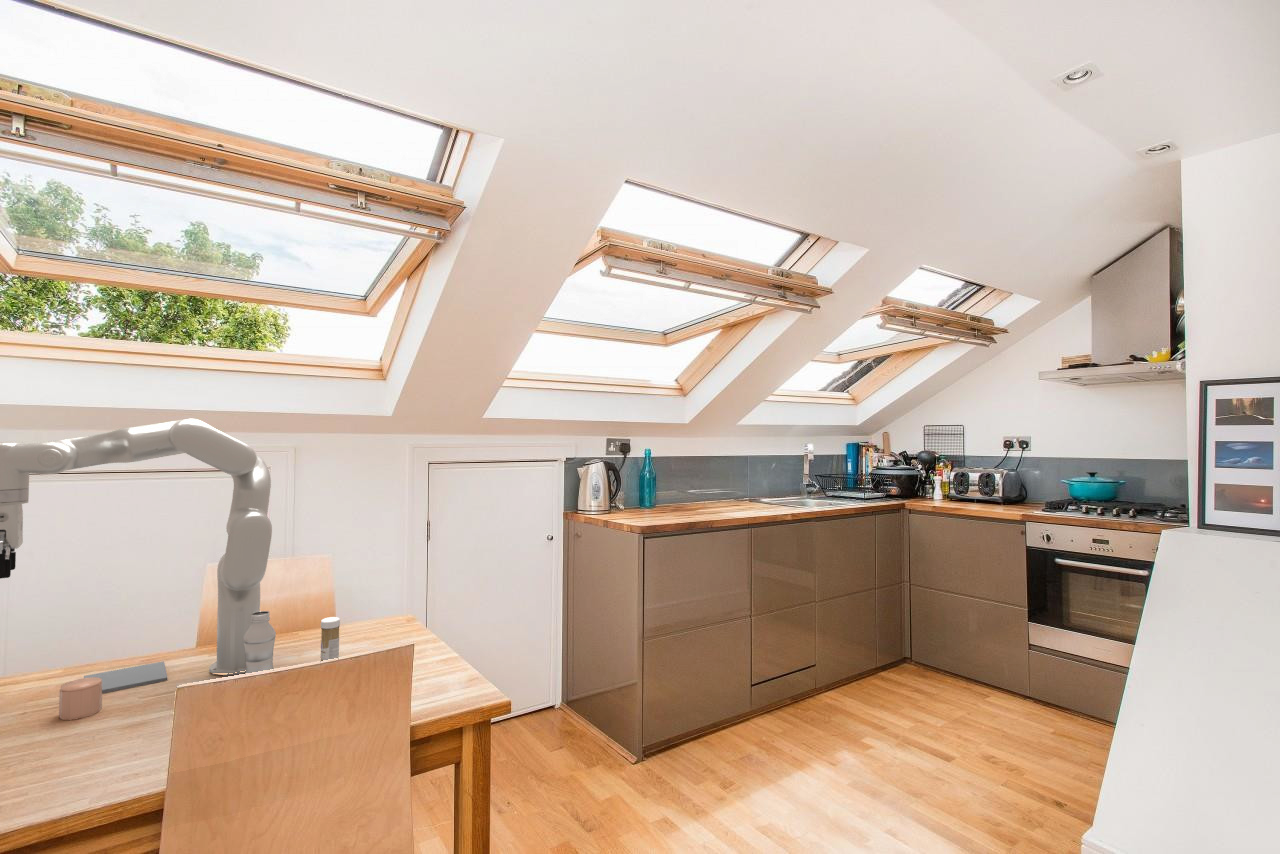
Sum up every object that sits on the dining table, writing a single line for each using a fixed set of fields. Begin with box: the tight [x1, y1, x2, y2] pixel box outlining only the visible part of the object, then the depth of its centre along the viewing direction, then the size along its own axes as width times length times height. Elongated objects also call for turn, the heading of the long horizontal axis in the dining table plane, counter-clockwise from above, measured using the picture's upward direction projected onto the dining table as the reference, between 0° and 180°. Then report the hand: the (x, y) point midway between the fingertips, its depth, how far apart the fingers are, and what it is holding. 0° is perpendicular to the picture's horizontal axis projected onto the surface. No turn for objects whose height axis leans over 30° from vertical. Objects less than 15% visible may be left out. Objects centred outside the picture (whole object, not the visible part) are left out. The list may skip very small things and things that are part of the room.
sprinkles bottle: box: [320, 616, 341, 662], centre depth 163 cm, size 5×5×14 cm
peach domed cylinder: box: [58, 677, 103, 721], centre depth 137 cm, size 7×7×6 cm
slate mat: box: [83, 661, 168, 694], centre depth 155 cm, size 16×14×1 cm
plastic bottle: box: [244, 610, 277, 674], centre depth 146 cm, size 6×7×20 cm
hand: (2, 574), depth 137 cm, fingers open, 9 cm apart
